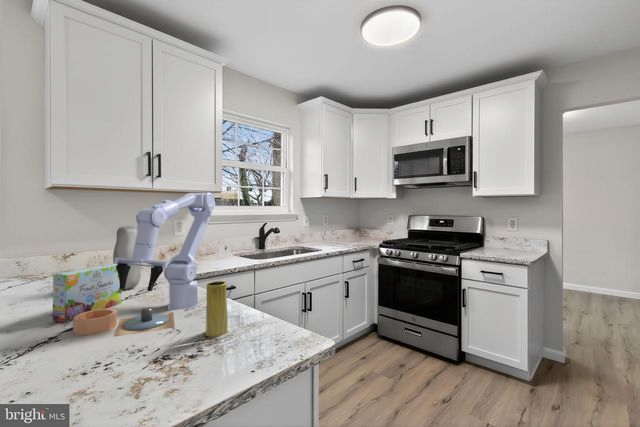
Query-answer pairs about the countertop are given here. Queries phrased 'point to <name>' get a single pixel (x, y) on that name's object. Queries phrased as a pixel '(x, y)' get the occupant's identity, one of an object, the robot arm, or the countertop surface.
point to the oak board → (123, 331)
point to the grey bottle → (127, 253)
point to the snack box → (85, 291)
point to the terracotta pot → (94, 321)
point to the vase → (216, 309)
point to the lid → (146, 320)
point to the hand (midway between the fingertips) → (135, 290)
